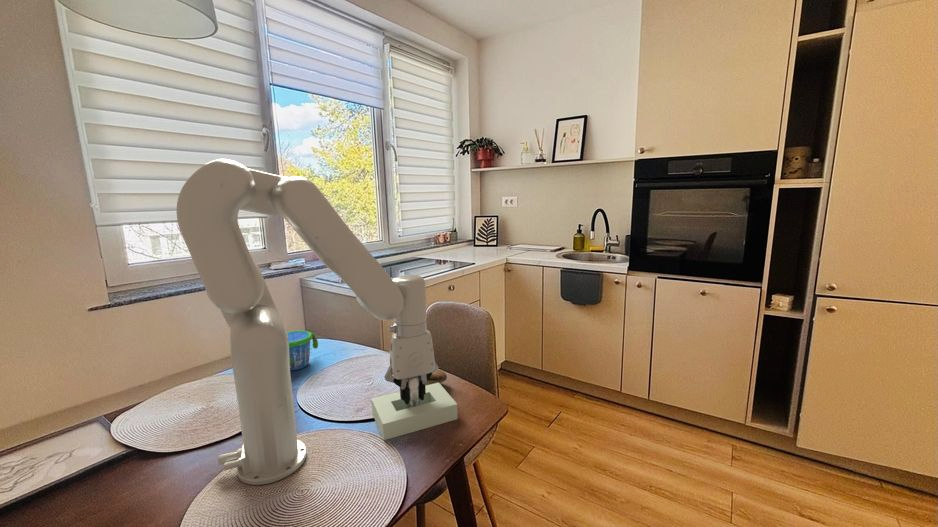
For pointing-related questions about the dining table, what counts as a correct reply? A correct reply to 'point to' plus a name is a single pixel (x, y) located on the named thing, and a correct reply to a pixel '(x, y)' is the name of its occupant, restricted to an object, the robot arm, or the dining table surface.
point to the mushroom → (437, 377)
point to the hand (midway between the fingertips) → (413, 398)
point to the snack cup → (300, 348)
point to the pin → (413, 391)
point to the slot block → (413, 412)
